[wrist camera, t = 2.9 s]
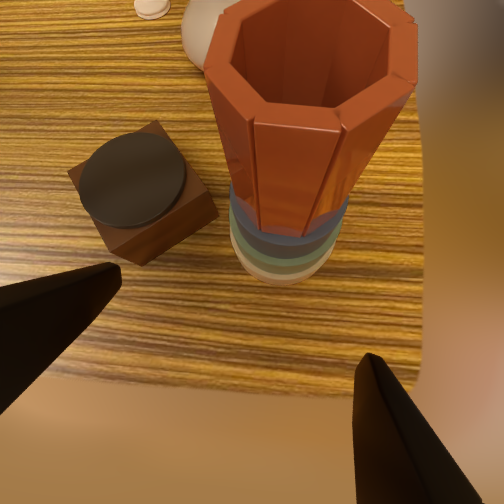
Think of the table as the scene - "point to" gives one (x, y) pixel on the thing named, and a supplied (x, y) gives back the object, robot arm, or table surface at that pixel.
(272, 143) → the terracotta octagonal pot
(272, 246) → the disc stack
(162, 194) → the coaster stand
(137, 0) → the chess piece
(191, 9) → the flower vase
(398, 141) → the table surface
